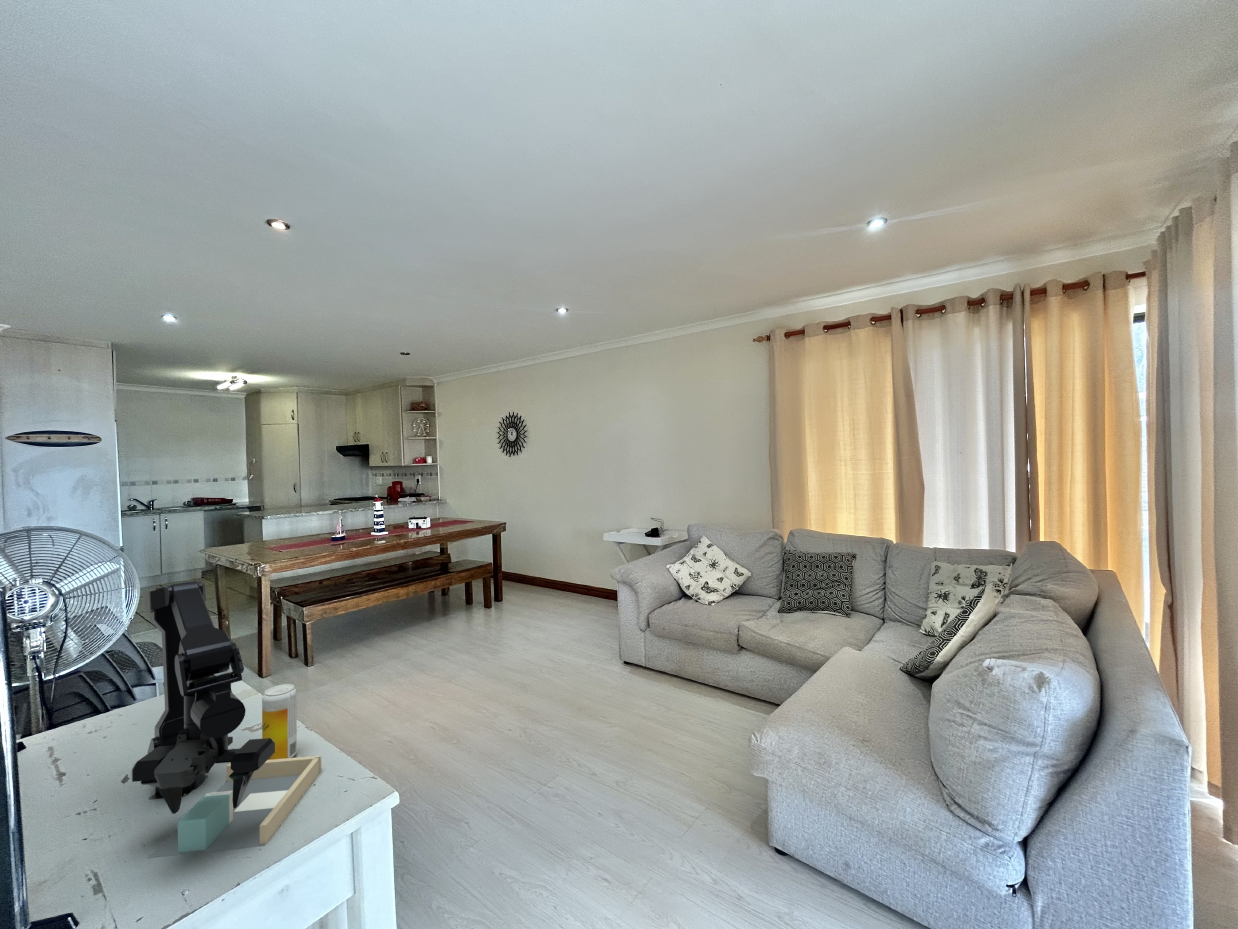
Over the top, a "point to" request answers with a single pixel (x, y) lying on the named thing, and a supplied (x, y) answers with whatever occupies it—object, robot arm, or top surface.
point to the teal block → (205, 821)
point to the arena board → (258, 805)
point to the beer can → (280, 719)
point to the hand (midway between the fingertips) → (206, 809)
